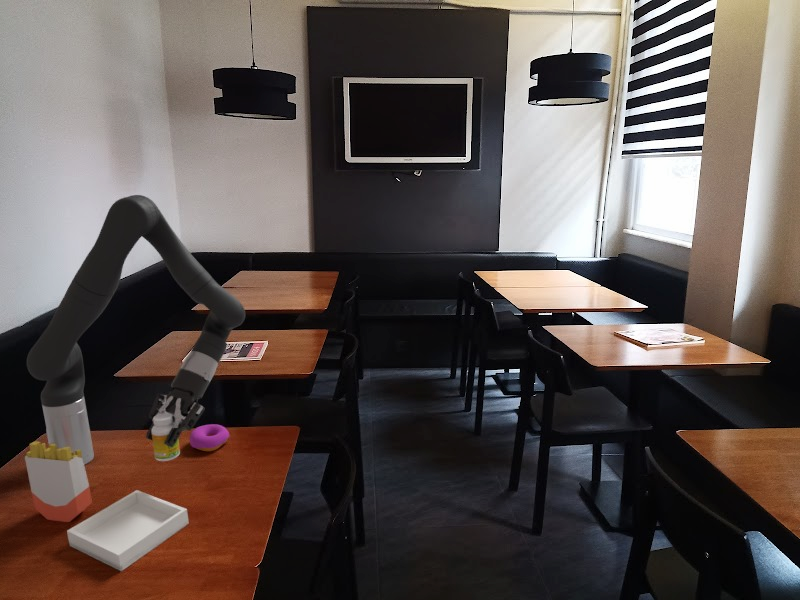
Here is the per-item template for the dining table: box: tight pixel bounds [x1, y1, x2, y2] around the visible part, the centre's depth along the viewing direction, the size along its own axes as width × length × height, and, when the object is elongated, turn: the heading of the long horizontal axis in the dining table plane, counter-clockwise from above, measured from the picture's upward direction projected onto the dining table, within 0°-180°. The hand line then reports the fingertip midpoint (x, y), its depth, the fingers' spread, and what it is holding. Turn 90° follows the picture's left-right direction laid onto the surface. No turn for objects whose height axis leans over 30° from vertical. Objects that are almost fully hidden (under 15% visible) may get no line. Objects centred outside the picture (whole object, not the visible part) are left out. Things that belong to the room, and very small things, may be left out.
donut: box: [189, 423, 230, 452], centre depth 152 cm, size 10×10×5 cm
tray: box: [66, 489, 189, 572], centre depth 115 cm, size 16×16×4 cm
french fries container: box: [24, 440, 93, 523], centre depth 120 cm, size 5×11×18 cm, turn 78°
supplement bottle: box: [151, 413, 181, 462], centre depth 126 cm, size 5×5×10 cm
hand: (158, 442), depth 124 cm, fingers closed on supplement bottle, 5 cm apart
